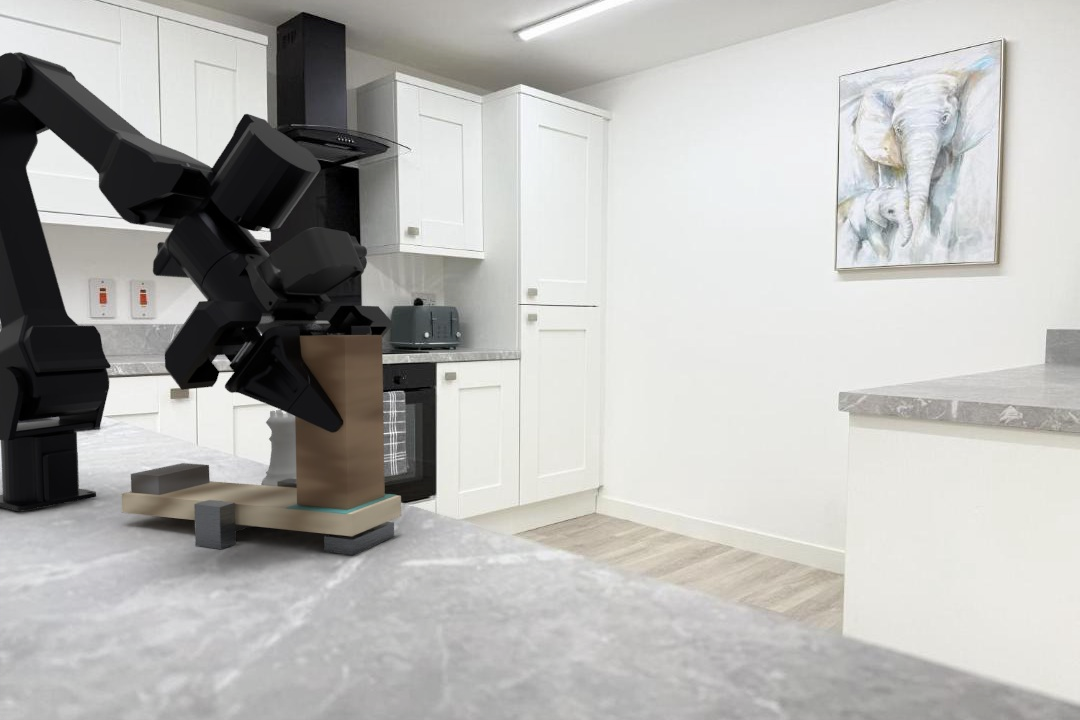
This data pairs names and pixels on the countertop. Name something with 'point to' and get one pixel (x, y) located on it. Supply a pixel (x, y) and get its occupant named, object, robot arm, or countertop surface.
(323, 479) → the column
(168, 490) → the seesaw beam
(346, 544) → the seesaw stand
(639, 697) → the countertop surface
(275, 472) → the rook chess piece
